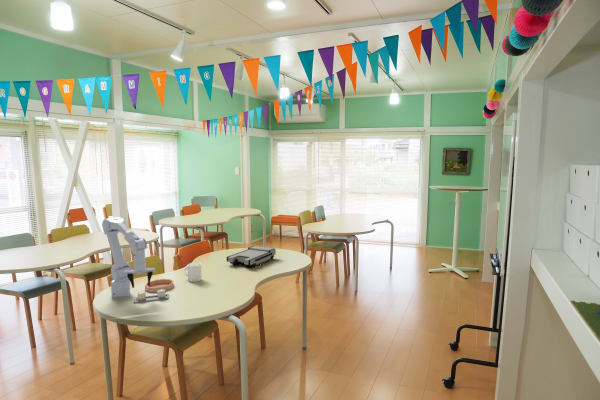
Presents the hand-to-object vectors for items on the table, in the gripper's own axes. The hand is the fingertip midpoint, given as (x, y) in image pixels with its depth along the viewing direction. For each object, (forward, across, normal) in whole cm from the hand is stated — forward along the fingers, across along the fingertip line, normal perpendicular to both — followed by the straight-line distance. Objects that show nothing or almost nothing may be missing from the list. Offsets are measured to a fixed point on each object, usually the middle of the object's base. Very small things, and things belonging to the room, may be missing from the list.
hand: (141, 286), depth 198 cm
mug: (+8, +27, +28) cm, 40 cm away
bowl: (+8, +8, +18) cm, 21 cm away
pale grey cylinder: (+8, +10, 0) cm, 12 cm away
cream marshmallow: (+8, 0, 0) cm, 8 cm away
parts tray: (+8, +5, 0) cm, 10 cm away
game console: (+9, +70, +55) cm, 89 cm away
